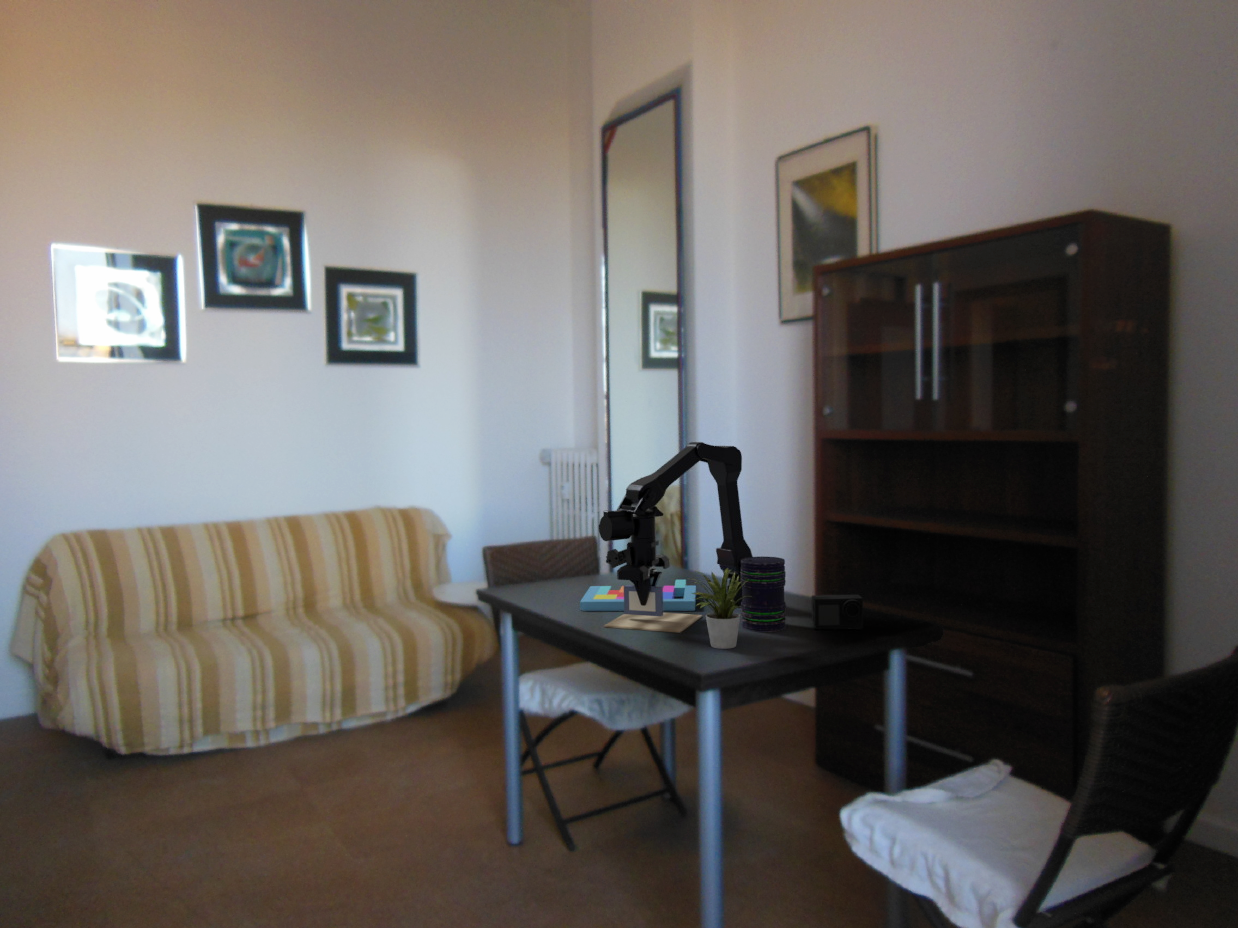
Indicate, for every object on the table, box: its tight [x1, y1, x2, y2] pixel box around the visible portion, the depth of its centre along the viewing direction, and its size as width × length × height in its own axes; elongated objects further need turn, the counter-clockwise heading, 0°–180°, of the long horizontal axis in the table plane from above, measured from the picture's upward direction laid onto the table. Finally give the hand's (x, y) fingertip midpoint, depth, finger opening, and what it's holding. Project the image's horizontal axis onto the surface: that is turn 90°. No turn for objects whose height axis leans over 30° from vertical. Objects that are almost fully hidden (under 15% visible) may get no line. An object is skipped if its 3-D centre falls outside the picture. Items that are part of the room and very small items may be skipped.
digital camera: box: [811, 594, 864, 630], centre depth 195 cm, size 10×5×7 cm, turn 89°
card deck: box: [623, 584, 664, 616], centre depth 206 cm, size 9×2×6 cm, turn 68°
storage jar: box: [740, 556, 787, 633], centre depth 198 cm, size 10×10×15 cm
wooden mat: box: [603, 612, 703, 633], centre depth 206 cm, size 18×16×1 cm
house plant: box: [685, 568, 752, 650], centre depth 184 cm, size 14×14×16 cm
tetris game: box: [579, 579, 697, 612], centre depth 232 cm, size 28×3×28 cm
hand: (644, 604), depth 206 cm, fingers closed on card deck, 2 cm apart
